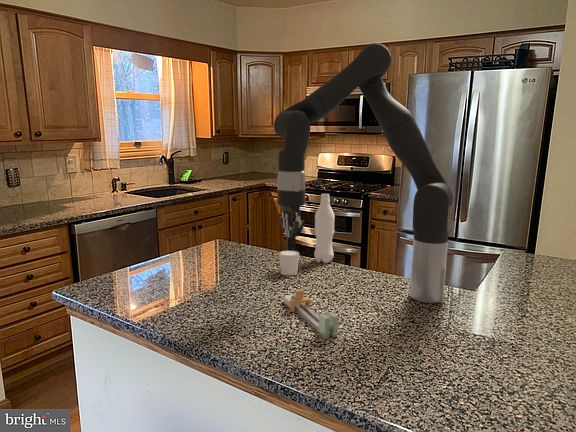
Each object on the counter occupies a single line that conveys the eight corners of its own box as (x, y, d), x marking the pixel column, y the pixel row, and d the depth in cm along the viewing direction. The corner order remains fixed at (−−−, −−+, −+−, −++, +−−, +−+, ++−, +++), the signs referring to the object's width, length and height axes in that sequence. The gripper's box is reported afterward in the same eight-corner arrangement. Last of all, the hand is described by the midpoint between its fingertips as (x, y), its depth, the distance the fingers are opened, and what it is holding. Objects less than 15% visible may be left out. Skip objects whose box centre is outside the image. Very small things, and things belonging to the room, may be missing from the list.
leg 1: (291, 308, 115) (291, 290, 114) (295, 307, 116) (295, 290, 115) (324, 339, 98) (325, 318, 97) (329, 338, 99) (330, 317, 98)
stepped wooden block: (289, 309, 115) (289, 291, 114) (307, 306, 117) (307, 288, 116) (292, 312, 113) (292, 293, 112) (310, 309, 115) (310, 290, 114)
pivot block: (283, 302, 119) (283, 294, 119) (298, 300, 121) (298, 292, 120) (289, 308, 115) (289, 299, 115) (304, 305, 117) (304, 297, 117)
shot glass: (297, 276, 141) (297, 256, 139) (276, 275, 142) (276, 255, 141) (300, 270, 147) (300, 250, 146) (281, 268, 148) (281, 249, 147)
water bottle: (311, 262, 155) (312, 195, 151) (317, 257, 162) (318, 192, 157) (330, 265, 153) (332, 196, 148) (335, 259, 159) (337, 193, 154)
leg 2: (299, 306, 116) (299, 289, 115) (304, 306, 117) (304, 288, 116) (332, 337, 99) (333, 317, 98) (337, 336, 99) (338, 316, 98)
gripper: (269, 185, 119) (269, 245, 122) (287, 191, 107) (287, 257, 110) (294, 184, 122) (293, 243, 125) (314, 190, 110) (313, 254, 113)
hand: (290, 249), depth 118 cm, fingers closed
